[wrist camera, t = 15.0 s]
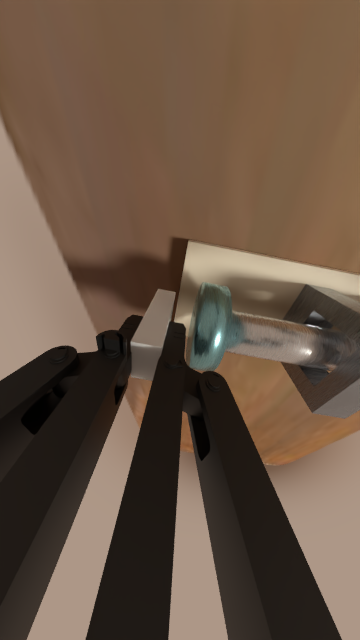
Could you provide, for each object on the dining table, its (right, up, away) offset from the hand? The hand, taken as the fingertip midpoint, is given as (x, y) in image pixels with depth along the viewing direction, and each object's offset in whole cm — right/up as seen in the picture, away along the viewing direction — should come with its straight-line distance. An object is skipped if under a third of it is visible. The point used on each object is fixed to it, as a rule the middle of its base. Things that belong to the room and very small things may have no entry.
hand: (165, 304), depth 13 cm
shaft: (+10, -1, +1) cm, 10 cm away
